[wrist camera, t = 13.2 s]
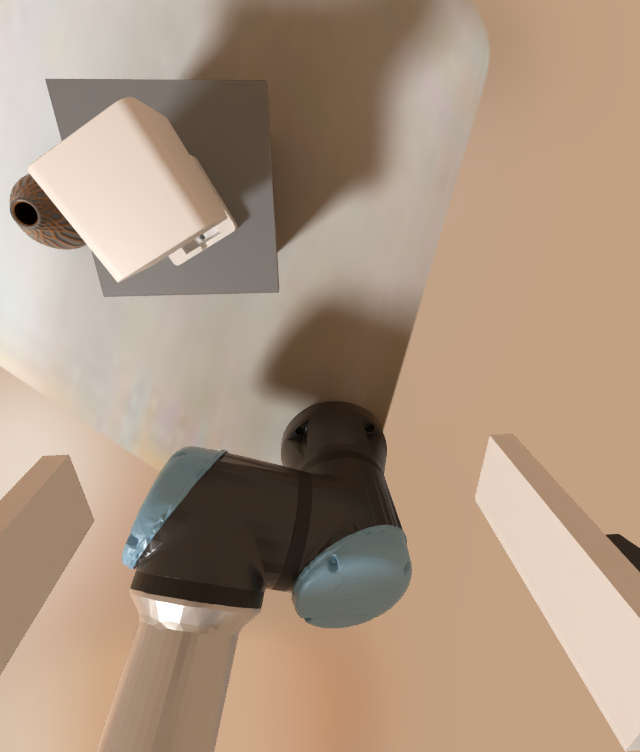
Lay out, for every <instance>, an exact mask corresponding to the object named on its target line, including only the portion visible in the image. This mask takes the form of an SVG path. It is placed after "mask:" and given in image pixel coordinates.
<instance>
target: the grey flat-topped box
mask: <svg viewBox="0 0 640 752" xmlns="http://www.w3.org/2000/svg"><path fill="white" fill-rule="evenodd" d="M45 80H46V84H47V87H48V91H49V95H50V98H51V102H52V106H53V110H54V113H55V117H56V121H57V124H58V128H59V132H60V136H61V139H62V141H63V140H64V139H66V138H67V137H68V136H70V135H71V134H72V133H74V132H75V131H77V130H78V129H79V128H81V127H82V126H83V125H85V124H86V123H87V122H89V121H90V120H92V119H93V118H94V117H96V116H97V115H98V114H100V113H101V112H102V111H104V110H105V109H106V108H108V107H109V106H111V105H112V104H113V103H115V102H116V101H118V100H120V99H122V98H126V97H134V98H136V99H137V100H139V101H141V102H142V103H144V104H145V105H147V106H149V107H150V108H152V109H154V110H155V111H157V112H158V113H160V114H162V115H163V116H165V117H167V119H168V120H169V122H170V124H171V125H172V127H173V129H174V130H175V132H176V134H177V135H178V137H179V138H180V140H181V142H182V143H183V145H184V147H185V148H186V150H187V151H188V153H189V155H192V156H194V157H196V158H197V159H198V161H199V163H200V164H201V166H202V168H203V169H204V171H205V173H206V174H207V176H208V178H209V179H210V181H211V183H212V184H213V186H214V187H215V189H216V191H217V192H218V194H219V196H220V197H221V199H222V201H223V202H224V204H225V206H226V207H227V209H228V210H229V212H230V214H231V215H232V217H233V219H234V220H235V222H236V224H237V226H238V227H237V229H236V230H235V231H234V232H232V233H230V234H229V235H227V236H225V237H224V238H222V239H221V240H219V241H217V242H216V243H214V244H213V245H211V246H209V247H208V248H206V249H205V250H203V251H201V252H200V253H198V254H197V255H195V256H193V257H192V258H190V259H189V260H187V261H185V262H184V263H182V264H180V265H178V266H177V265H175V264H174V263H173V262H172V261H171V259H170V258H169V256H167V257H166V258H164V259H162V260H161V261H159V262H158V263H156V264H154V265H153V266H151V267H149V268H147V269H145V270H143V271H141V272H139V273H137V274H135V275H133V276H131V277H129V278H127V279H125V280H123V281H121V282H119V283H118V282H117V281H116V280H115V279H114V277H113V276H112V275H111V274H110V273H109V271H108V270H107V269H106V268H105V266H104V265H103V264H102V263H101V261H100V260H99V259H98V258H97V256H96V255H95V254H94V253H93V251H92V254H93V258H94V262H95V265H96V269H97V273H98V276H99V280H100V284H101V287H102V291H103V295H104V297H115V296H157V295H198V294H239V293H279V277H278V260H277V242H276V225H275V208H274V190H273V173H272V155H271V138H270V121H269V103H268V86H267V82H266V80H132V79H45ZM200 237H201V239H203V240H204V239H205V236H204V234H202V235H200Z"/></svg>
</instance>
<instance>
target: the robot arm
mask: <svg viewBox="0 0 640 752" xmlns="http://www.w3.org/2000/svg"><path fill="white" fill-rule="evenodd" d="M386 455H387V445H386V440H385V437H384V434H383V431H382V429H381V426H380V424H379V423H378V421H377V420H376V419H375V417H374V416H373V415H371V414H370V413H369V412H368V411H366V410H365V409H363V408H361V407H359V406H356V405H353V404H350V403H344V402H328V403H322V404H318V405H315V406H312V407H310V408H308V409H306V410H304V411H303V412H301V413H300V414H299V415H297V416H296V417H295V418H294V419H293V420H292V421H291V422H290V424H289V425H288V427H287V428H286V430H285V432H284V435H283V438H282V445H281V459H282V464H283V466H281V465H277V464H272V463H268V462H264V461H260V460H255V459H251V458H247V457H243V456H239V455H234V454H230V453H228V451H226V450H221V451H216V450H211V449H205V448H200V447H194V446H190V447H185V448H182V449H180V450H179V451H177V452H176V453H175V454H174V455H173V456H172V457H171V458H170V459H169V460H168V462H167V463H166V464H165V466H164V467H163V469H162V470H161V472H160V473H159V475H158V477H157V479H156V480H155V482H154V484H153V486H152V487H151V489H150V491H149V493H148V495H147V497H146V499H145V500H144V503H143V504H142V506H141V508H140V510H139V513H138V515H137V517H136V519H135V521H134V524H133V526H132V529H131V534H130V536H129V538H128V540H127V542H126V544H125V547H124V550H123V554H122V562H123V563H124V564H125V565H126V566H128V568H129V569H135V568H136V567H137V569H136V573H135V576H134V579H133V582H132V584H131V587H130V591H129V593H130V595H131V598H132V600H133V602H134V604H135V606H136V608H137V610H138V614H139V621H138V624H137V627H136V630H135V633H134V636H133V639H132V642H131V646H130V648H129V652H128V655H127V658H126V661H125V664H124V667H123V670H122V673H121V676H120V679H119V682H118V685H117V688H116V691H115V695H114V697H113V700H112V703H111V707H110V710H109V713H108V716H107V719H106V722H105V725H104V728H103V731H102V734H101V737H100V740H99V743H98V746H97V749H96V752H214V750H215V745H216V740H217V736H218V731H219V726H220V721H221V716H222V711H223V707H224V702H225V697H226V692H227V688H228V683H229V678H230V673H231V668H232V664H233V659H234V654H235V649H236V645H237V640H238V635H239V632H240V631H241V630H242V628H243V627H244V626H245V625H246V624H247V623H248V622H249V621H251V620H252V619H253V618H254V617H255V616H257V615H258V614H259V613H260V612H261V606H262V601H263V596H264V591H265V589H272V590H279V591H284V592H290V593H292V601H293V604H294V607H295V609H296V612H297V614H298V615H299V616H300V617H301V618H304V619H305V621H306V622H307V623H309V624H311V625H314V626H318V627H322V628H344V627H350V626H354V625H358V624H361V623H364V622H367V621H369V620H371V619H373V618H375V617H378V616H379V615H381V614H383V613H385V612H386V611H387V610H389V609H390V608H391V607H393V606H394V605H395V604H396V603H397V602H398V601H399V599H401V597H402V596H403V595H404V593H405V592H406V590H407V588H408V586H409V583H410V579H411V574H412V567H411V561H410V557H409V553H408V548H407V539H406V536H405V534H404V532H403V530H402V527H401V524H400V521H399V518H398V515H397V512H396V510H395V506H394V503H393V501H392V498H391V495H390V492H389V489H388V486H387V483H386V480H385V477H384V470H385V463H386ZM475 501H476V502H477V504H478V506H479V507H480V509H481V511H482V512H483V514H484V516H485V517H486V519H487V521H488V522H489V524H490V525H491V527H492V529H493V531H494V532H495V534H496V536H497V537H498V539H499V541H500V542H501V544H502V546H503V547H504V549H505V551H506V552H507V554H508V556H509V557H510V559H511V561H512V563H513V564H514V566H515V568H516V569H517V571H518V573H519V574H520V576H521V578H522V579H523V581H524V583H525V584H526V586H527V588H528V589H529V591H530V593H531V594H532V596H533V598H534V599H535V601H536V603H537V604H538V606H539V608H540V609H541V611H542V613H543V614H544V616H545V618H546V619H547V621H548V623H549V625H550V626H551V628H552V630H553V631H554V633H555V635H556V636H557V638H558V639H559V641H560V643H561V645H562V646H563V648H564V650H565V651H566V653H567V655H568V656H569V658H570V660H571V661H572V663H573V664H574V666H575V668H576V670H577V671H578V673H579V675H580V676H581V678H582V680H583V681H584V683H585V685H586V686H587V688H588V690H589V691H590V693H591V695H592V696H593V698H594V700H595V702H596V703H597V705H598V707H599V708H600V710H601V712H602V713H603V715H604V717H605V718H606V720H607V722H608V723H609V725H610V727H611V728H612V730H613V732H614V733H615V735H616V737H617V738H618V740H619V742H620V743H621V745H622V747H623V748H624V750H625V751H635V750H640V548H639V547H637V546H636V545H634V544H633V543H631V542H630V541H628V540H627V539H625V538H624V537H622V536H621V535H619V534H610V535H605V534H604V533H603V532H602V531H601V530H600V529H599V528H598V526H597V525H596V524H595V523H594V522H593V521H592V520H591V519H590V518H589V517H588V515H587V514H586V513H585V512H584V511H583V510H582V509H581V508H580V507H579V506H578V505H577V504H576V502H575V501H573V499H572V498H571V497H570V496H569V495H568V494H567V493H566V492H565V490H564V489H563V488H562V487H561V486H560V485H559V484H558V483H557V482H556V481H555V480H554V479H553V477H552V476H551V475H550V474H549V473H548V472H547V471H546V470H545V469H544V468H543V467H542V465H540V463H539V462H538V461H537V460H536V459H535V458H534V457H533V456H532V455H531V453H530V452H529V451H528V450H527V449H526V448H525V447H524V446H523V445H522V444H521V443H520V441H518V439H517V438H516V437H515V436H514V435H513V434H504V435H490V436H489V441H488V445H487V449H486V454H485V458H484V462H483V466H482V471H481V474H480V479H479V483H478V487H477V491H476V496H475ZM93 522H94V518H93V516H92V513H91V510H90V508H89V505H88V503H87V500H86V498H85V495H84V492H83V490H82V487H81V485H80V482H79V480H78V477H77V474H76V472H75V469H74V466H73V464H72V461H71V459H70V456H69V455H56V456H42V458H41V459H40V460H39V461H38V462H37V463H36V464H35V465H34V466H33V467H32V468H31V469H30V470H29V471H28V472H27V473H26V474H25V475H24V476H23V477H22V478H21V479H20V480H19V481H18V483H17V484H16V485H15V486H14V487H13V488H12V489H11V490H10V491H9V492H8V493H7V494H6V495H5V496H4V497H3V498H2V499H1V500H0V675H1V673H2V671H3V670H4V668H5V666H6V665H7V663H8V661H9V660H10V658H11V657H12V655H13V653H14V652H15V650H16V648H17V647H18V645H19V643H20V642H21V640H22V639H23V637H24V635H25V634H26V632H27V630H28V629H29V627H30V625H31V624H32V622H33V620H34V619H35V617H36V615H37V614H38V612H39V611H40V609H41V607H42V606H43V604H44V602H45V601H46V599H47V598H48V596H49V594H50V593H51V591H52V589H53V588H54V586H55V584H56V583H57V581H58V580H59V578H60V576H61V575H62V573H63V571H64V569H65V568H66V566H67V564H68V563H69V561H70V560H71V558H72V556H73V555H74V553H75V552H76V550H77V548H78V547H79V545H80V543H81V542H82V540H83V538H84V537H85V535H86V534H87V532H88V530H89V529H90V527H91V525H92V524H93Z"/></svg>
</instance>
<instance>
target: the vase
mask: <svg viewBox="0 0 640 752" xmlns="http://www.w3.org/2000/svg"><path fill="white" fill-rule="evenodd" d="M10 212H11V215H12V217H13V219H14V220H15V221H16V223H17V224H18V225H19V227H20V228H21V229H22V230H23V231H24V232H25V233H26V234H27V235H28V236H30V237H31V238H32V239H34V240H36V241H37V242H39V243H41V244H44V245H46V246H49V247H53V248H57V249H76V248H80V247H83V246H85V245H87V244H86V243H85V242H84V240H83V239H82V238H81V237H80V235H79V234H78V233H77V232H76V230H75V229H74V228H73V227H72V225H71V224H70V223H69V222H68V220H67V219H66V218H65V217H64V216H63V214H62V213H61V212H60V211H59V209H58V208H57V207H56V206H55V204H54V203H53V202H52V201H51V199H50V198H49V197H48V196H47V194H46V193H45V192H44V191H43V189H42V188H41V187H40V186H39V185H38V183H37V182H36V181H35V180H34V178H33V177H32V176H31V175H30V174H27V175H26V176H24V177H22V178H21V179H20V180H19V181H18V182H17V183H16V184H15V185H14V187H13V189H12V191H11V195H10Z"/></svg>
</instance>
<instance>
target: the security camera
mask: <svg viewBox="0 0 640 752" xmlns="http://www.w3.org/2000/svg"><path fill="white" fill-rule="evenodd" d="M28 172H29V173H30V175H31V176H32V177H33V178H34V180H35V181H36V182H37V183H38V185H39V186H40V187H41V188H42V189H43V191H44V192H45V193H46V194H47V196H48V197H49V198H50V199H51V201H52V202H53V203H54V204H55V206H56V207H57V208H58V209H59V211H60V212H61V213H62V214H63V216H64V217H65V218H66V219H67V220H68V222H69V223H70V224H71V225H72V227H73V228H74V229H75V230H76V232H77V233H78V234H79V235H80V237H81V238H82V239H83V240H84V242H85V243H86V244H87V245H88V246H89V248H90V249H91V250H92V251H93V253H94V254H95V255H96V256H97V258H98V259H99V260H100V261H101V263H102V264H103V265H104V266H105V268H106V269H107V270H108V271H109V273H110V274H111V275H112V276H113V277H114V279H115V280H116V281H117V282H118V283H119V282H121V281H123V280H125V279H127V278H129V277H131V276H133V275H135V274H137V273H139V272H141V271H143V270H145V269H147V268H149V267H151V266H153V265H154V264H156V263H158V262H159V261H161V260H162V259H164V258H166V257H167V256H169V258H170V259H171V261H172V262H173V263H174V264H175V265H177V266H178V265H180V264H182V263H184V262H185V261H187V260H189V259H190V258H192V257H193V256H195V255H197V254H198V253H200V252H201V251H203V250H205V249H206V248H208V247H209V246H211V245H213V244H214V243H216V242H217V241H219V240H221V239H222V238H224V237H225V236H227V235H229V234H230V233H232V232H234V231H235V230H236V229H237V227H238V226H237V224H236V222H235V220H234V219H233V217H232V215H231V214H230V212H229V210H228V209H227V207H226V206H225V204H224V202H223V201H222V199H221V197H220V196H219V194H218V192H217V191H216V189H215V187H214V186H213V184H212V183H211V181H210V179H209V178H208V176H207V174H206V173H205V171H204V169H203V168H202V166H201V164H200V163H199V161H198V159H197V158H196V157H194V156H192V155H189V153H188V151H187V150H186V148H185V147H184V145H183V143H182V142H181V140H180V138H179V137H178V135H177V134H176V132H175V130H174V129H173V127H172V125H171V124H170V122H169V120H168V119H167V117H165V116H163V115H162V114H160V113H158V112H157V111H155V110H154V109H152V108H150V107H149V106H147V105H145V104H144V103H142V102H141V101H139V100H137V99H136V98H134V97H126V98H122V99H120V100H118V101H116V102H115V103H113V104H112V105H111V106H109V107H108V108H106V109H105V110H104V111H102V112H101V113H100V114H98V115H97V116H96V117H94V118H93V119H92V120H90V121H89V122H87V123H86V124H85V125H83V126H82V127H81V128H79V129H78V130H77V131H75V132H74V133H72V134H71V135H70V136H68V137H67V138H66V139H64V140H63V141H62V142H60V143H59V144H57V145H56V146H55V147H53V148H52V149H51V150H49V151H48V152H47V153H45V154H44V155H43V156H41V157H40V158H38V159H37V160H36V161H34V162H33V163H32V164H31V165H30V166H29V167H28ZM202 234H204V236H205V239H204V240H203V239H201V237H200V235H202Z"/></svg>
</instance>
